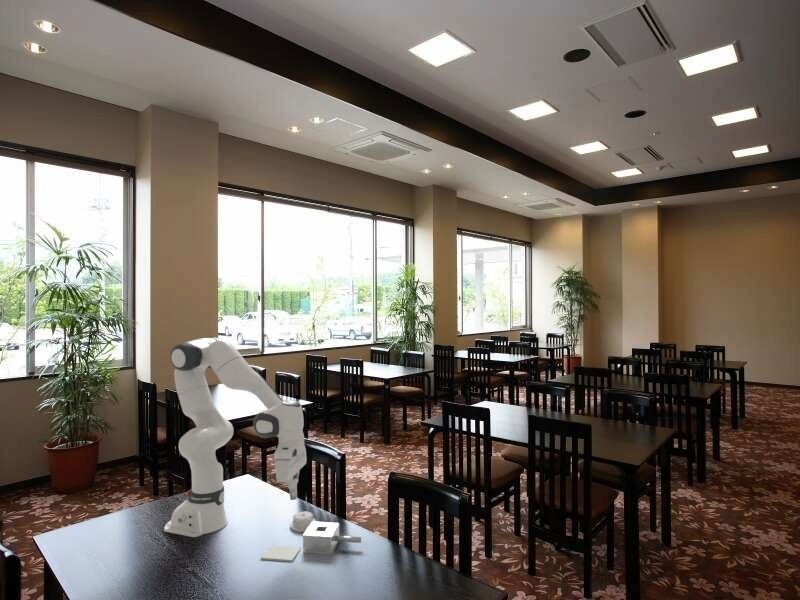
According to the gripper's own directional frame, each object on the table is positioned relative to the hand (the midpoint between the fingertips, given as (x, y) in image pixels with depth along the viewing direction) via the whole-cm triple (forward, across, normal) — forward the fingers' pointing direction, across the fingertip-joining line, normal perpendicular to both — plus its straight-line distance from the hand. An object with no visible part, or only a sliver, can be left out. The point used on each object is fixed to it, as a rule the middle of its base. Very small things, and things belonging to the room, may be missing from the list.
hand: (293, 485), depth 167 cm
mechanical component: (+21, -13, -2) cm, 25 cm away
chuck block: (+21, 0, +14) cm, 25 cm away
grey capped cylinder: (+4, 0, 0) cm, 4 cm away
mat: (+20, +7, -2) cm, 22 cm away
